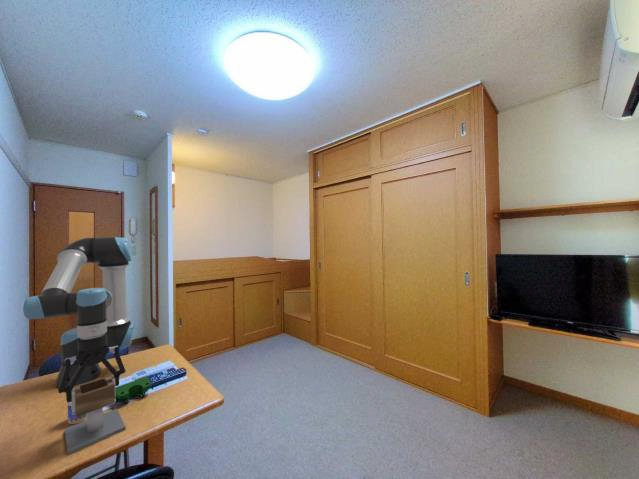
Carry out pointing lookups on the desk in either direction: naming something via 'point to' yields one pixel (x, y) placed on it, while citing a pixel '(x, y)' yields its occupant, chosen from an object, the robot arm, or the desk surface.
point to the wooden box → (94, 395)
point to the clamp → (132, 389)
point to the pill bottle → (74, 416)
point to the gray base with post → (93, 429)
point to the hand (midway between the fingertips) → (94, 403)
